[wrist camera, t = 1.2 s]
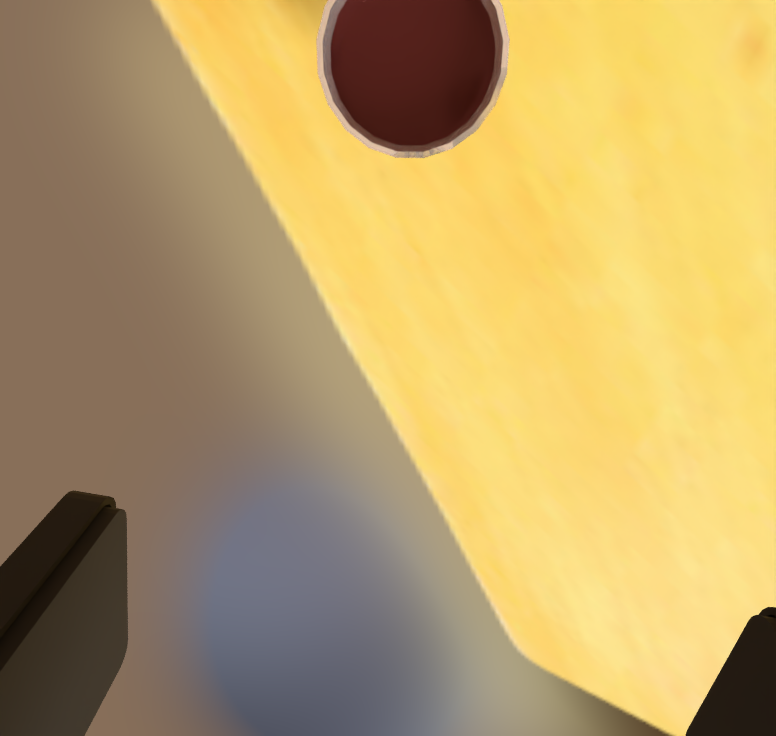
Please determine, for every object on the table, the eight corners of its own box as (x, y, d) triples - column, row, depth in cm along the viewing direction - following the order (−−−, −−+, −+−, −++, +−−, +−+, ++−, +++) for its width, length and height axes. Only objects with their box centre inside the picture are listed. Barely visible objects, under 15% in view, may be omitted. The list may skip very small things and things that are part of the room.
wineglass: (505, 73, 31) (552, 57, 21) (412, 168, 34) (409, 199, 23) (416, -35, 30) (415, -116, 19) (323, 72, 32) (273, 56, 21)
